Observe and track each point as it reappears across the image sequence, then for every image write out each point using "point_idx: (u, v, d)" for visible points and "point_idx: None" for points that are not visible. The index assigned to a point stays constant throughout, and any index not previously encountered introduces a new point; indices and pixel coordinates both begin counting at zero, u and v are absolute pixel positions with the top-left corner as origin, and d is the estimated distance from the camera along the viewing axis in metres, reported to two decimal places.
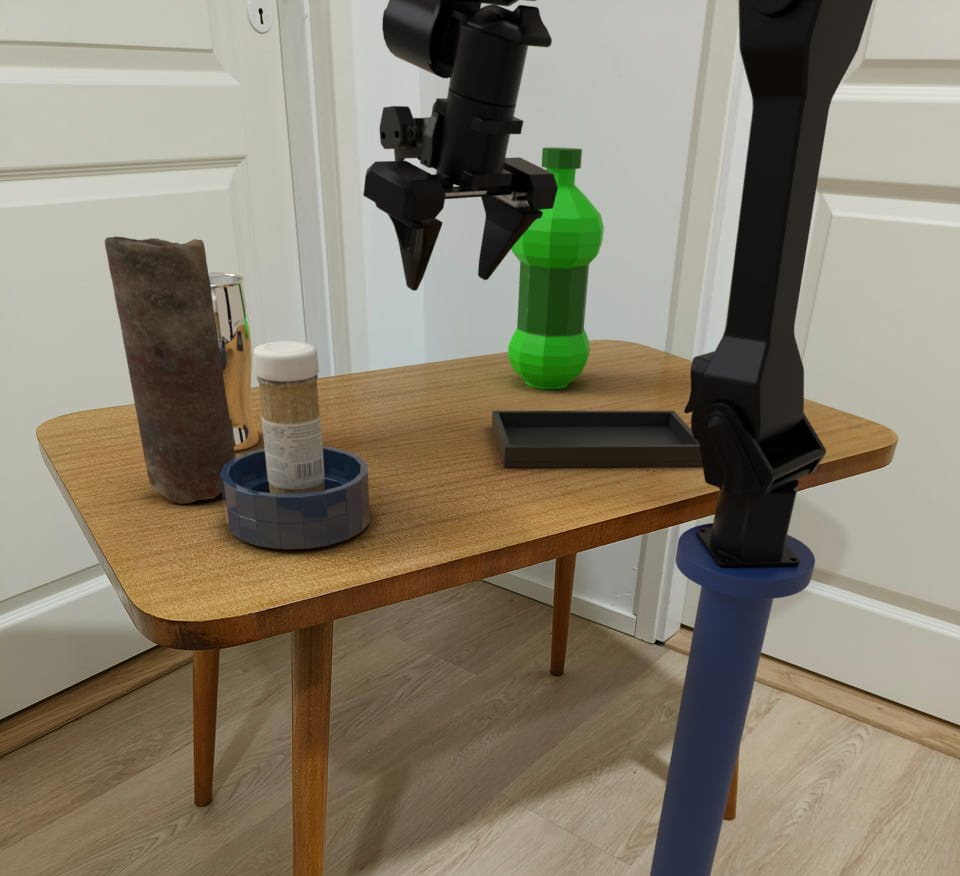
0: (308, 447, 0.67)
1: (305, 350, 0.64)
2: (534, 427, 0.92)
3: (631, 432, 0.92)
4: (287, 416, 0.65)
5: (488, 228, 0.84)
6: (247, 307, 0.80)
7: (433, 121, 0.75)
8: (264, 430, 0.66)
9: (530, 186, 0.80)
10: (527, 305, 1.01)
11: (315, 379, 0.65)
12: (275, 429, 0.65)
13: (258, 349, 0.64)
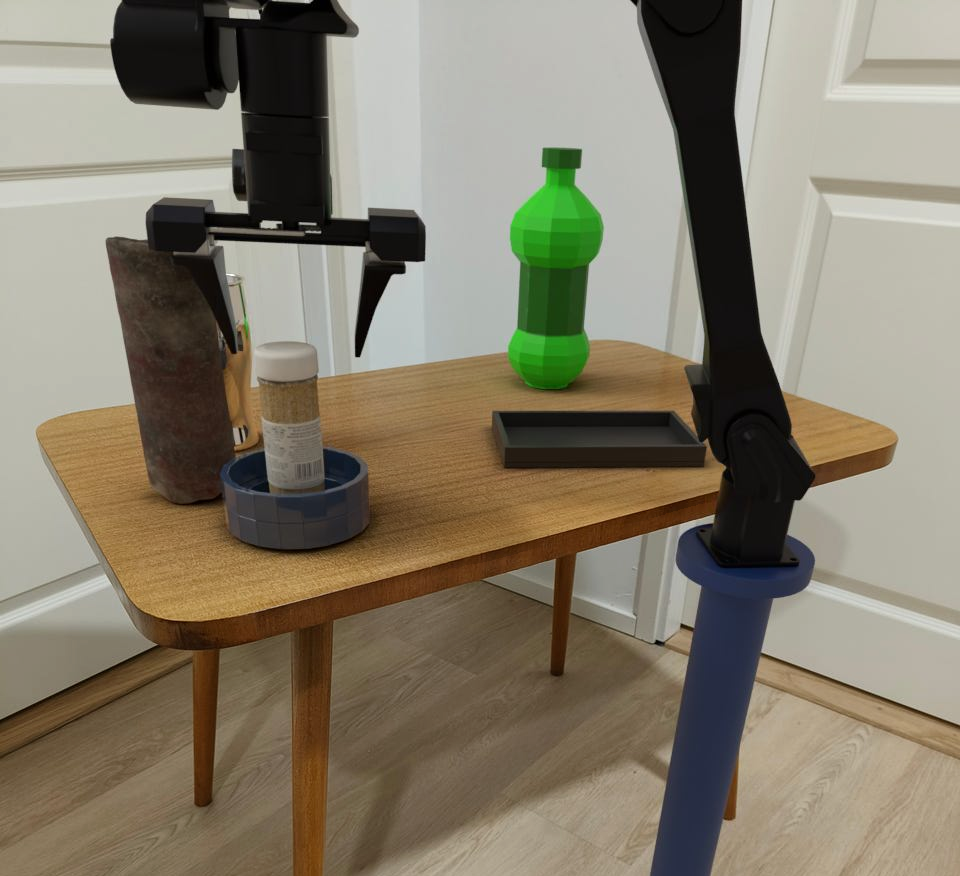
0: (308, 447, 0.67)
1: (305, 350, 0.64)
2: (534, 427, 0.92)
3: (631, 432, 0.92)
4: (287, 416, 0.65)
5: (359, 293, 0.66)
6: (247, 307, 0.80)
7: None
8: (264, 430, 0.66)
9: (369, 229, 0.61)
10: (528, 305, 1.01)
11: (315, 379, 0.65)
12: (275, 429, 0.65)
13: (258, 349, 0.64)
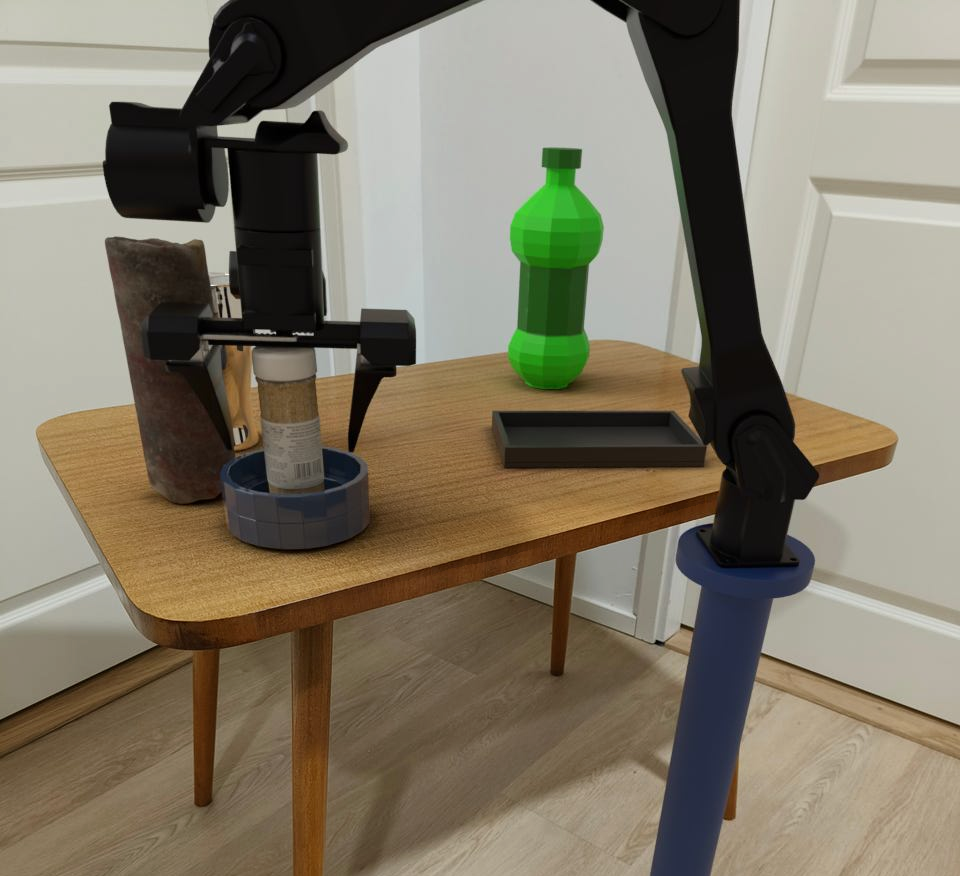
0: (307, 447, 0.67)
1: (303, 350, 0.64)
2: (534, 427, 0.92)
3: (631, 432, 0.92)
4: (286, 416, 0.65)
5: None
6: None
7: None
8: (263, 430, 0.66)
9: (360, 335, 0.62)
10: (528, 305, 1.01)
11: (313, 378, 0.65)
12: (274, 429, 0.65)
13: (256, 349, 0.64)
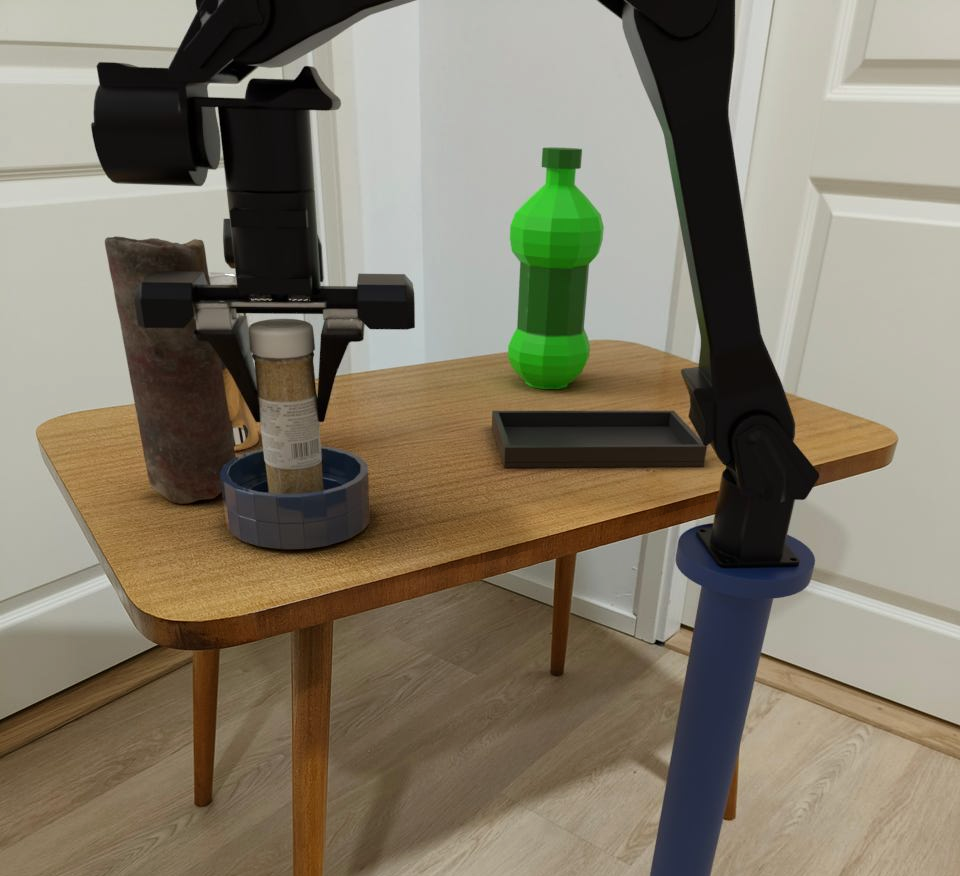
0: (304, 426, 0.66)
1: (301, 327, 0.63)
2: (534, 427, 0.92)
3: (631, 432, 0.92)
4: (283, 394, 0.64)
5: None
6: None
7: None
8: (260, 409, 0.65)
9: (357, 299, 0.61)
10: (528, 305, 1.01)
11: (311, 356, 0.64)
12: (271, 408, 0.65)
13: (253, 326, 0.63)
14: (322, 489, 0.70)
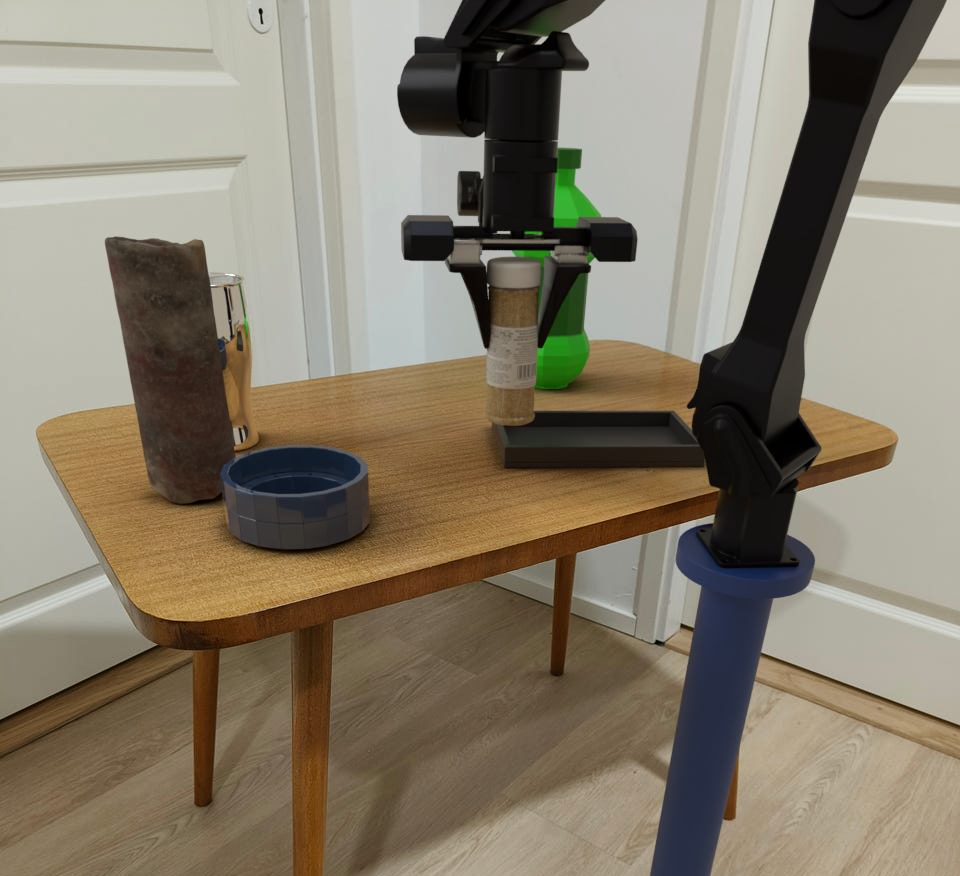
0: (529, 350, 0.76)
1: (534, 261, 0.73)
2: (534, 427, 0.92)
3: (631, 432, 0.92)
4: (516, 321, 0.74)
5: (543, 291, 0.76)
6: (247, 307, 0.80)
7: (483, 176, 0.72)
8: (491, 335, 0.75)
9: (590, 235, 0.71)
10: None
11: (539, 288, 0.74)
12: (503, 333, 0.74)
13: (493, 261, 0.73)
14: (533, 409, 0.80)
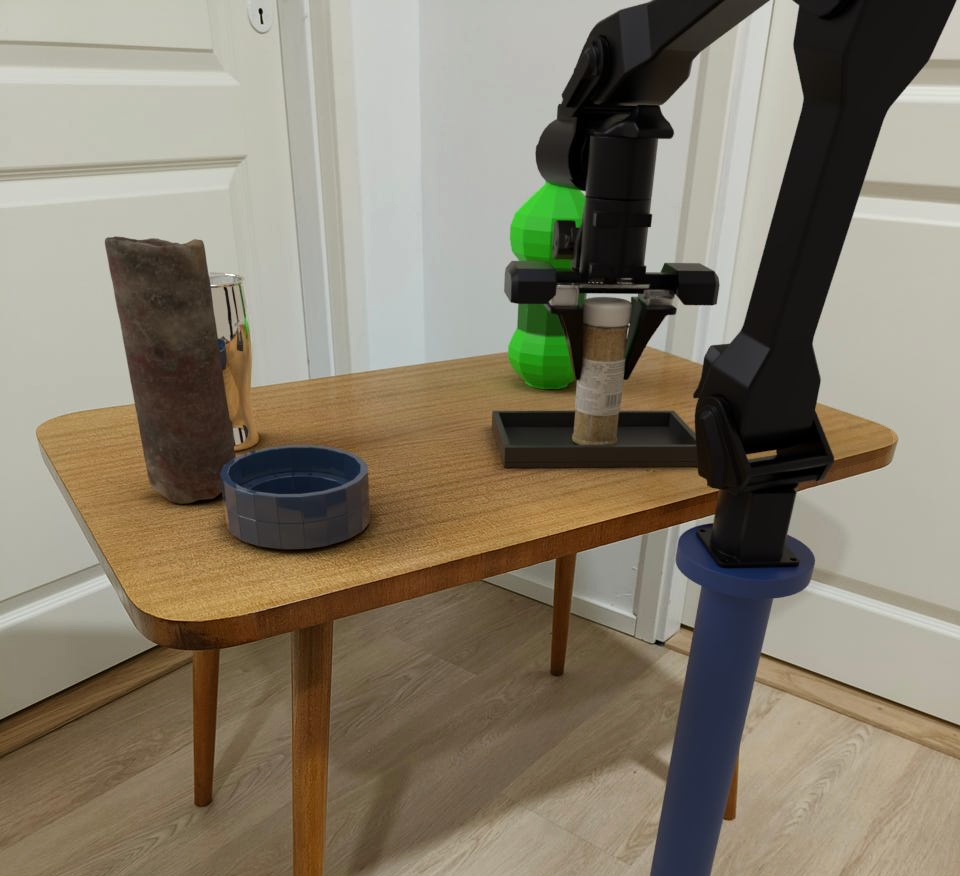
0: (617, 381, 0.84)
1: (626, 302, 0.81)
2: (534, 427, 0.92)
3: (631, 432, 0.92)
4: (607, 355, 0.82)
5: (630, 329, 0.84)
6: (247, 307, 0.80)
7: (580, 226, 0.81)
8: (583, 367, 0.84)
9: (677, 282, 0.79)
10: (527, 305, 1.01)
11: (628, 326, 0.82)
12: (595, 366, 0.83)
13: (588, 302, 0.81)
14: (616, 433, 0.88)
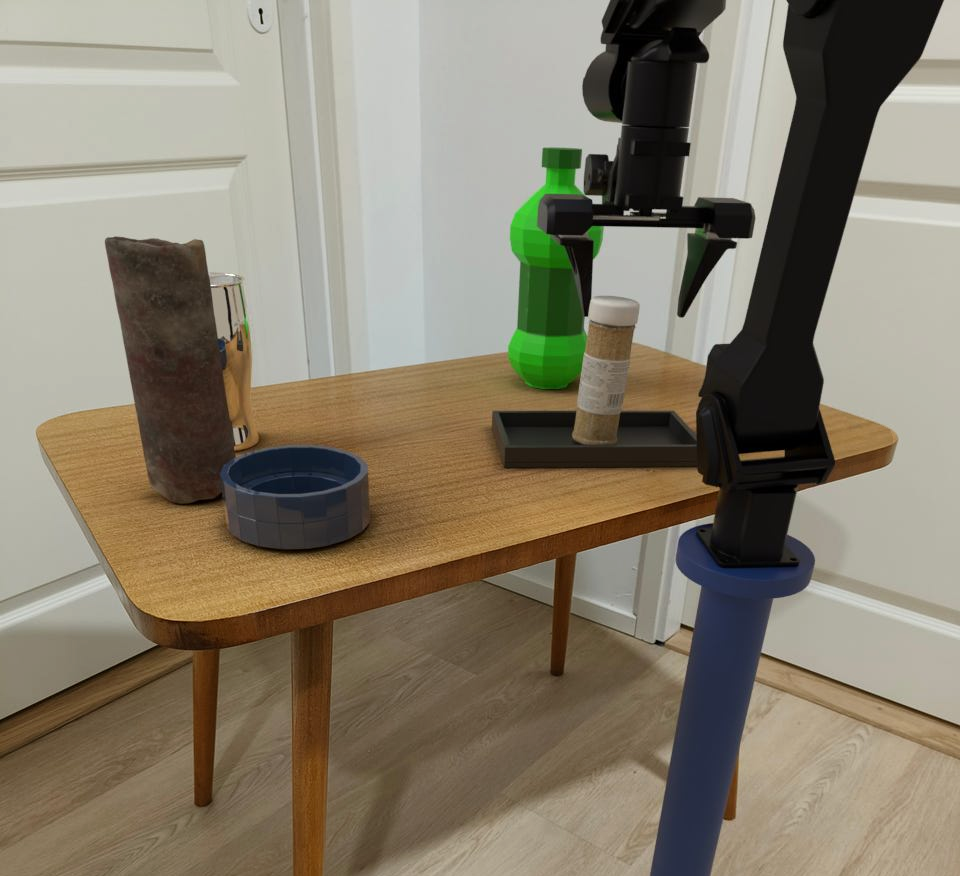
0: (620, 381, 0.84)
1: (634, 303, 0.81)
2: (534, 427, 0.92)
3: (631, 432, 0.92)
4: (612, 354, 0.82)
5: (687, 266, 0.83)
6: (247, 307, 0.80)
7: (615, 159, 0.80)
8: (587, 365, 0.84)
9: (713, 214, 0.78)
10: (528, 305, 1.01)
11: (635, 326, 0.82)
12: (599, 364, 0.83)
13: (597, 299, 0.81)
14: (616, 433, 0.88)
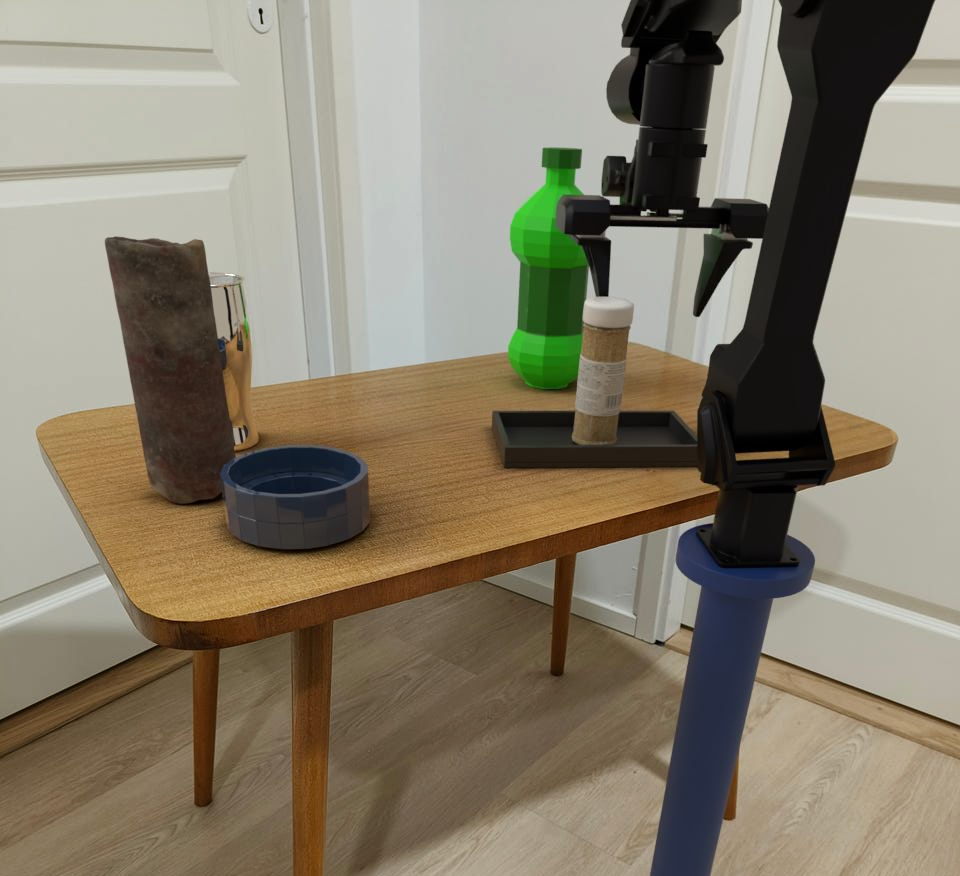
0: (618, 382, 0.84)
1: (628, 303, 0.81)
2: (534, 427, 0.92)
3: (631, 432, 0.92)
4: (608, 356, 0.82)
5: (703, 266, 0.84)
6: (247, 307, 0.80)
7: (633, 160, 0.81)
8: (583, 368, 0.83)
9: (730, 214, 0.79)
10: (528, 305, 1.01)
11: (630, 327, 0.82)
12: (595, 367, 0.82)
13: (590, 302, 0.81)
14: None
